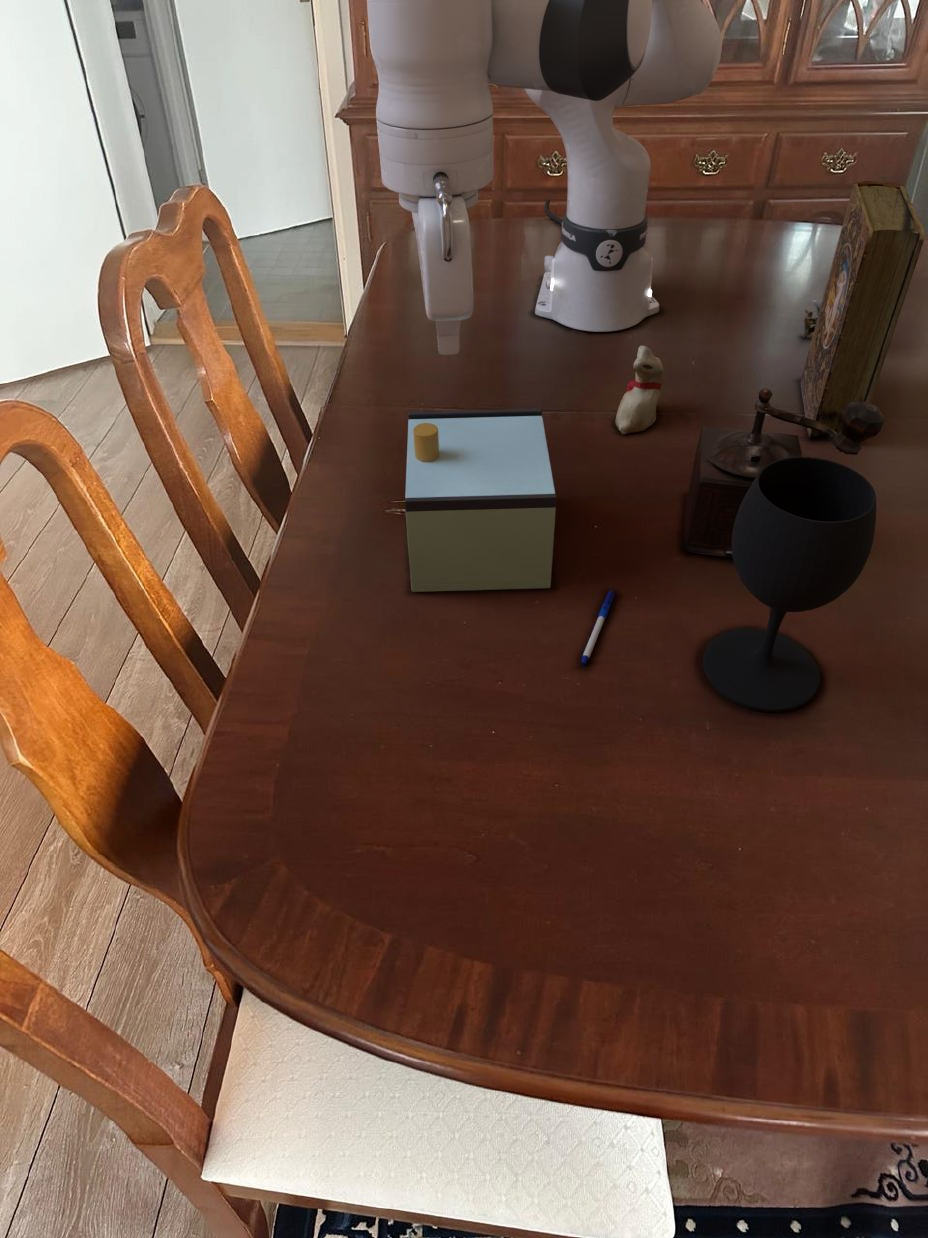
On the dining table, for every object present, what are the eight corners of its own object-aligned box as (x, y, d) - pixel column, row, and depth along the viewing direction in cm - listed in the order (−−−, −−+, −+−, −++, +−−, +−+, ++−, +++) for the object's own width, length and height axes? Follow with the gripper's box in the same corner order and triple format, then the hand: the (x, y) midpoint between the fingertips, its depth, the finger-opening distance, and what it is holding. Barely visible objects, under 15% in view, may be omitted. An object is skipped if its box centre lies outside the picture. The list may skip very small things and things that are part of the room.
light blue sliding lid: (408, 424, 94) (406, 393, 91) (541, 420, 94) (543, 389, 91) (405, 502, 84) (403, 470, 81) (555, 498, 84) (557, 466, 81)
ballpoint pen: (606, 593, 89) (607, 586, 89) (614, 595, 89) (615, 588, 88) (579, 665, 82) (580, 658, 82) (589, 668, 82) (590, 660, 81)
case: (414, 498, 101) (408, 411, 94) (537, 495, 102) (541, 407, 94) (411, 592, 90) (404, 501, 82) (550, 588, 90) (556, 497, 82)
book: (799, 377, 120) (852, 179, 103) (842, 380, 119) (902, 181, 102) (808, 442, 109) (869, 231, 91) (855, 446, 108) (926, 234, 91)
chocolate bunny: (675, 419, 113) (687, 345, 106) (626, 437, 110) (635, 362, 103) (647, 400, 116) (657, 327, 110) (598, 417, 114) (606, 343, 107)
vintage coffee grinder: (682, 556, 93) (711, 402, 81) (685, 495, 101) (713, 346, 89) (837, 574, 91) (892, 418, 78) (828, 510, 99) (877, 359, 86)
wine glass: (753, 729, 76) (812, 546, 63) (678, 653, 83) (716, 472, 69) (845, 686, 80) (919, 504, 66) (765, 616, 86) (818, 437, 73)
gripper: (491, 196, 62) (493, 380, 71) (466, 120, 77) (470, 280, 86) (400, 201, 61) (414, 385, 71) (392, 124, 76) (404, 284, 86)
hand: (444, 327), depth 78 cm, fingers open, 8 cm apart
